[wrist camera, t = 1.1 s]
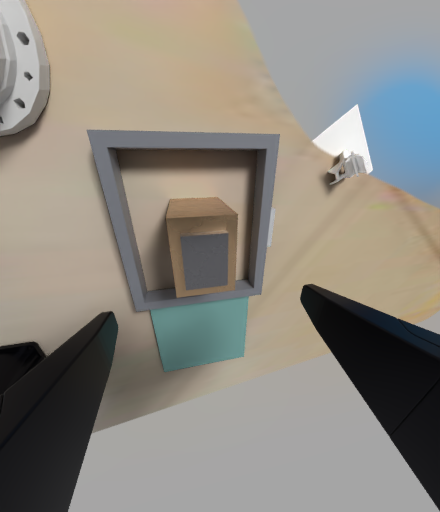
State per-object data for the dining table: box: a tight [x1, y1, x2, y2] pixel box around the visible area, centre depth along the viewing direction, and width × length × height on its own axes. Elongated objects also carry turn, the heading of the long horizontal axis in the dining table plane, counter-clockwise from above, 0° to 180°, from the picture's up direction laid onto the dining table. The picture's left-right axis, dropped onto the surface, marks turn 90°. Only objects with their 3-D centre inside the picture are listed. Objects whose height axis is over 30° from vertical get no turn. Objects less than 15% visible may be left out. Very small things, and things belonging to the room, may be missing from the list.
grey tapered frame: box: [87, 130, 280, 312], centre depth 18 cm, size 15×16×2 cm
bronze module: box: [166, 197, 238, 298], centre depth 16 cm, size 4×6×8 cm
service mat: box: [150, 296, 249, 372], centre depth 25 cm, size 12×12×1 cm
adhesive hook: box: [328, 148, 369, 185], centre depth 18 cm, size 3×3×3 cm
